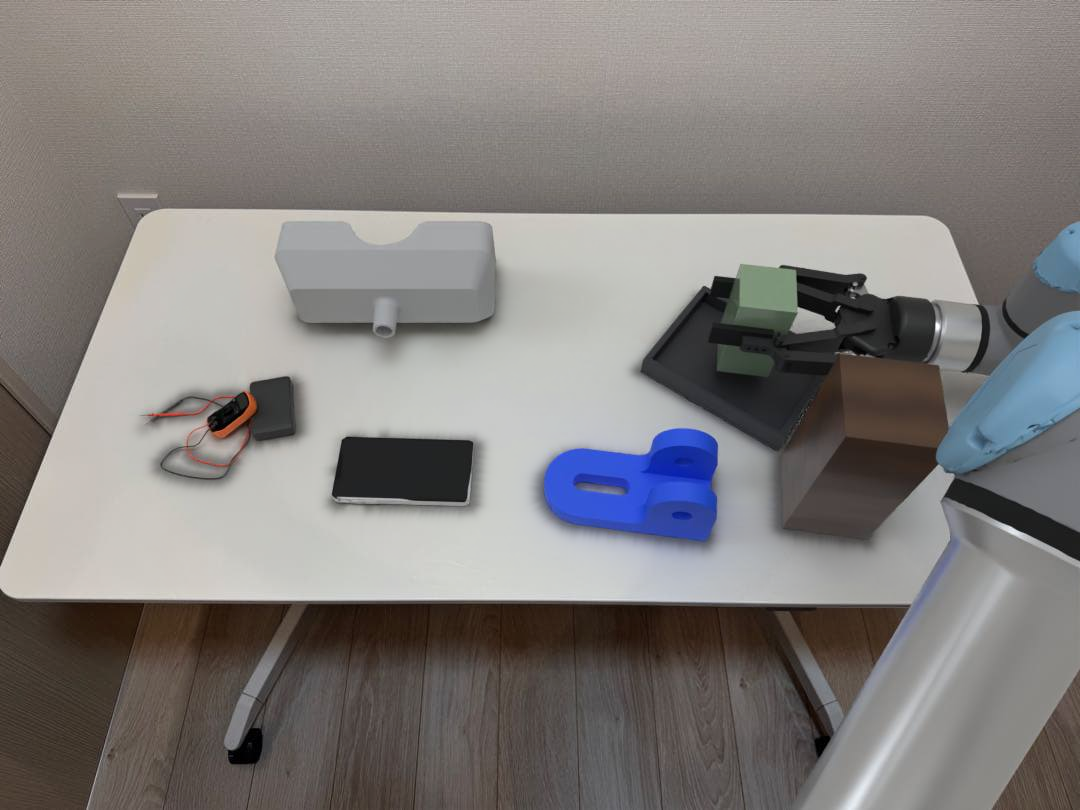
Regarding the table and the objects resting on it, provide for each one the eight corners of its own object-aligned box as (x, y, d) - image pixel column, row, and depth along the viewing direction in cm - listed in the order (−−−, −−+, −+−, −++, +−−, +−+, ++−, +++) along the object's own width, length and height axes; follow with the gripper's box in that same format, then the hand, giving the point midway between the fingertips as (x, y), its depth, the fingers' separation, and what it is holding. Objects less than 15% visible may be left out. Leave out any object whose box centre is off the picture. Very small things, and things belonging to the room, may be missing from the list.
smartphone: (468, 503, 83) (330, 499, 83) (469, 508, 84) (332, 504, 84) (473, 439, 87) (342, 435, 87) (474, 444, 88) (344, 440, 88)
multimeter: (130, 489, 85) (115, 475, 82) (144, 399, 91) (132, 383, 88) (294, 470, 86) (286, 455, 83) (298, 382, 93) (290, 366, 90)
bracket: (707, 473, 86) (724, 432, 79) (705, 541, 82) (723, 505, 74) (549, 453, 88) (551, 411, 80) (539, 519, 83) (540, 482, 76)
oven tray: (776, 451, 88) (783, 440, 86) (640, 371, 94) (642, 359, 92) (831, 367, 94) (838, 355, 92) (700, 298, 100) (703, 285, 98)
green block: (768, 377, 90) (798, 312, 79) (716, 371, 90) (739, 305, 80) (767, 337, 93) (796, 269, 83) (717, 331, 93) (740, 263, 83)
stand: (866, 540, 82) (952, 450, 65) (782, 528, 83) (845, 436, 66) (860, 466, 87) (939, 364, 70) (780, 456, 88) (839, 353, 71)
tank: (290, 362, 94) (259, 296, 84) (310, 265, 103) (284, 193, 92) (493, 362, 94) (488, 296, 84) (496, 265, 103) (492, 194, 92)
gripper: (919, 425, 82) (702, 397, 84) (900, 290, 92) (707, 268, 94) (951, 386, 76) (715, 357, 77) (928, 246, 86) (719, 223, 87)
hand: (711, 308), depth 85 cm, fingers closed on green block, 6 cm apart
